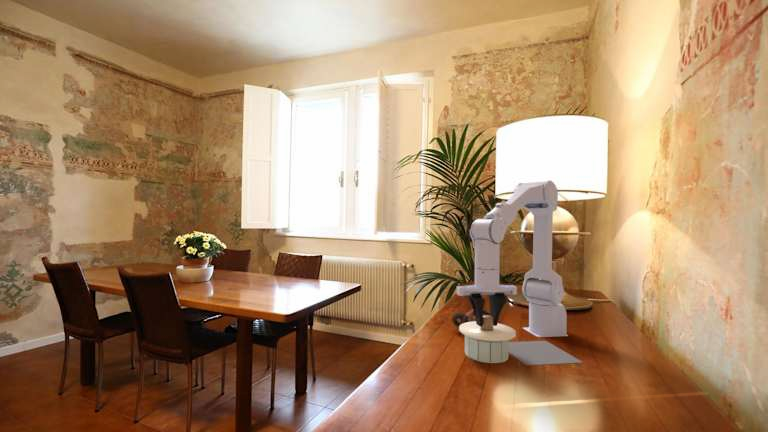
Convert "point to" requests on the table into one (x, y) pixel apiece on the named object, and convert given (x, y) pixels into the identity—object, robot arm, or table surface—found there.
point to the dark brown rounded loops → (465, 317)
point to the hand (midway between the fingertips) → (486, 324)
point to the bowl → (487, 350)
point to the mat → (540, 353)
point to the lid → (487, 330)
